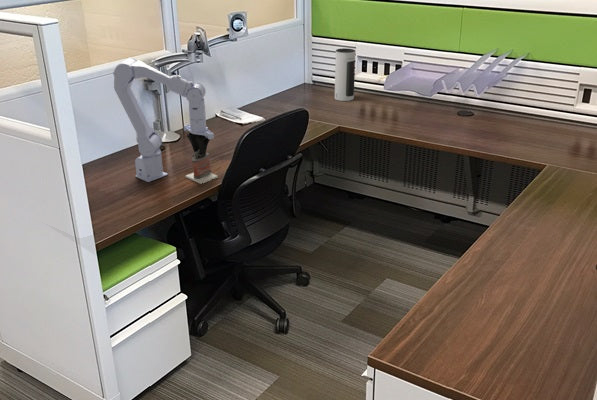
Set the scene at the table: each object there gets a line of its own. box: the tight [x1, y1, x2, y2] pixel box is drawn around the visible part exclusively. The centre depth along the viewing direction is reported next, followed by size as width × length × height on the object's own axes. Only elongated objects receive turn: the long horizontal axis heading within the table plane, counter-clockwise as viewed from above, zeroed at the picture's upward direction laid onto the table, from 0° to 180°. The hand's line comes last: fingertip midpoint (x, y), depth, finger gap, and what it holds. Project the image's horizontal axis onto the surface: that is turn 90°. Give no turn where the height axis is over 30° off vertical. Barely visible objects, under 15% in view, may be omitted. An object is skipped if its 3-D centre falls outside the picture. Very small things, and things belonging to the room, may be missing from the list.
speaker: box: [334, 48, 356, 102], centre depth 327 cm, size 11×10×26 cm
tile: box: [185, 172, 219, 185], centre depth 236 cm, size 8×9×1 cm
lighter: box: [190, 150, 212, 179], centre depth 234 cm, size 8×3×10 cm, turn 142°
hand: (199, 153), depth 232 cm, fingers open, 3 cm apart
